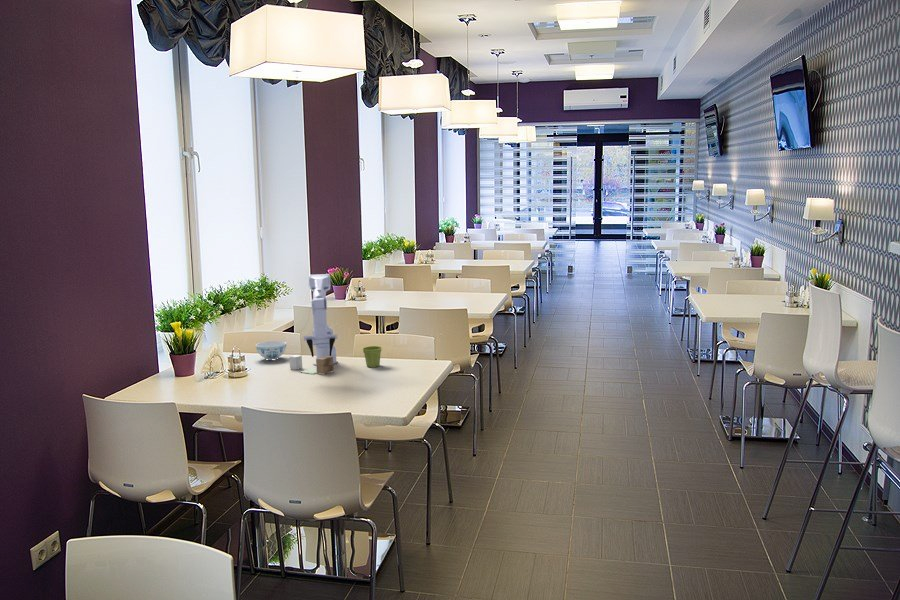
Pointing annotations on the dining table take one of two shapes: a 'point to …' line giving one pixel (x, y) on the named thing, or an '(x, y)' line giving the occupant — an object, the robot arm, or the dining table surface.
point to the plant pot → (372, 355)
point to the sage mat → (310, 370)
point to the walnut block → (324, 364)
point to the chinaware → (271, 349)
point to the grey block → (295, 362)
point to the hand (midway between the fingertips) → (321, 356)
